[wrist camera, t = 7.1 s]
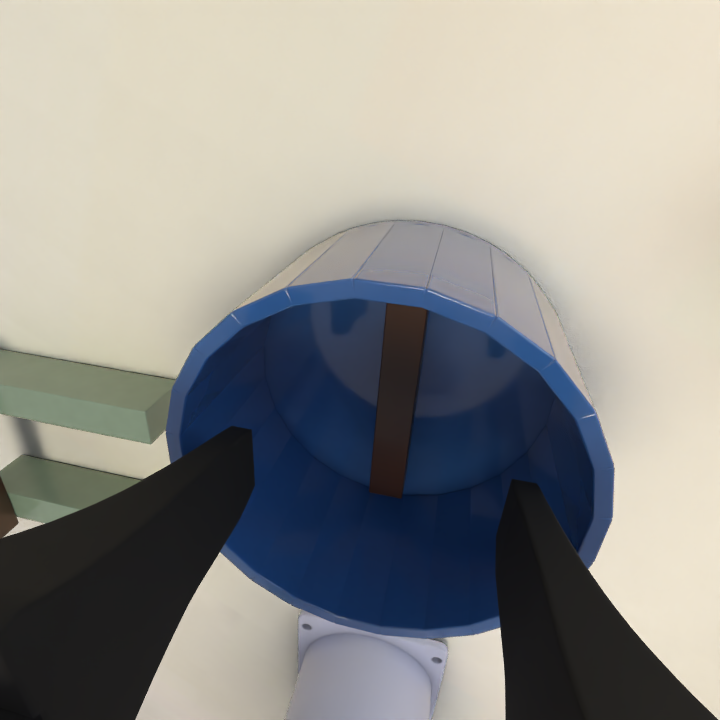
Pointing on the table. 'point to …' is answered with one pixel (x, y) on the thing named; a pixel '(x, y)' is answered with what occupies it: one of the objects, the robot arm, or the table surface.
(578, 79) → the table surface
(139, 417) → the miniature wooden rack
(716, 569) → the table surface
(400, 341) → the chopstick
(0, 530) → the chopstick
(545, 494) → the blue round bowl
